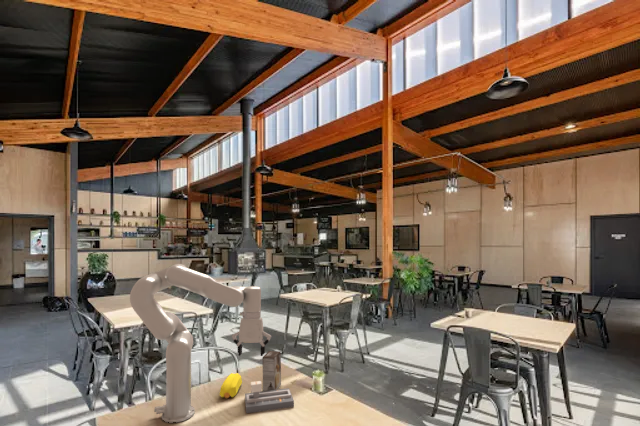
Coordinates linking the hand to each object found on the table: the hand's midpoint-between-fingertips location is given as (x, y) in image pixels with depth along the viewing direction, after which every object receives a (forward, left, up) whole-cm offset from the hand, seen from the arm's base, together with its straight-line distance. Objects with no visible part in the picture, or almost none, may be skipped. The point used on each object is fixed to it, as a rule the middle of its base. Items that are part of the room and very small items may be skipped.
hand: (251, 354), depth 151 cm
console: (+8, 0, -21) cm, 23 cm away
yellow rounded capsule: (-8, +17, -22) cm, 29 cm away
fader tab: (+2, 0, -19) cm, 19 cm away
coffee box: (+11, +15, -22) cm, 28 cm away
